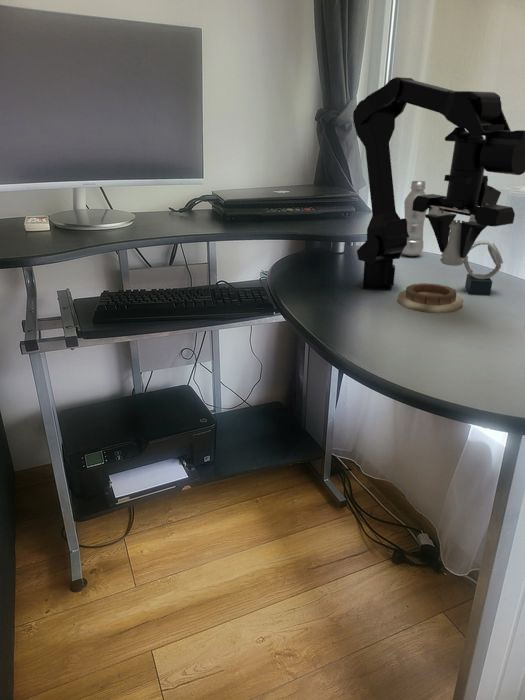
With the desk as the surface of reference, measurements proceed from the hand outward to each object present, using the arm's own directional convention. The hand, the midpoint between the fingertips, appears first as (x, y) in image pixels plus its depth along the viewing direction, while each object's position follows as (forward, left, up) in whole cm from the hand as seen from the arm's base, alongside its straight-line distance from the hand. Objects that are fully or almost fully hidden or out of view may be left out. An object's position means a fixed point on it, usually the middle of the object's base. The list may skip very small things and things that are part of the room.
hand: (452, 254), depth 99 cm
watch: (+8, +14, -11) cm, 20 cm away
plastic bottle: (-5, +46, -11) cm, 48 cm away
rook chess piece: (0, 0, -2) cm, 2 cm away
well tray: (-3, +4, -11) cm, 12 cm away
